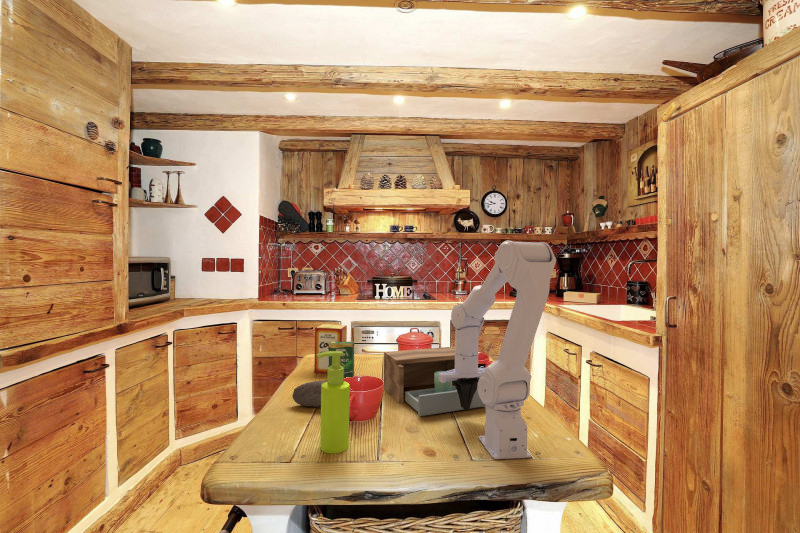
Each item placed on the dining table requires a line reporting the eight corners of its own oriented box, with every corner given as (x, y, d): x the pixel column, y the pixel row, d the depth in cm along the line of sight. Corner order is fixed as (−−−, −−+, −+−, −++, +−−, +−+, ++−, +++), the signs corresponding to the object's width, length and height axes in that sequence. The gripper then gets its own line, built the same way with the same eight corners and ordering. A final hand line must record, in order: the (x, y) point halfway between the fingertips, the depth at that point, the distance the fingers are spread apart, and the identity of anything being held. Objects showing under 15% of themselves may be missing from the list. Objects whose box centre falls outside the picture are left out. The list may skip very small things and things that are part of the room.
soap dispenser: (313, 443, 82) (314, 349, 82) (345, 438, 85) (346, 347, 84) (317, 456, 77) (319, 356, 76) (351, 451, 79) (353, 354, 79)
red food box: (346, 368, 138) (346, 324, 138) (341, 374, 132) (341, 327, 132) (320, 367, 140) (321, 323, 139) (314, 372, 133) (315, 326, 133)
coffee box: (327, 384, 121) (328, 342, 121) (329, 381, 124) (330, 340, 124) (352, 385, 121) (353, 343, 120) (354, 382, 124) (355, 341, 123)
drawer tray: (488, 405, 104) (489, 387, 104) (419, 416, 96) (419, 396, 96) (466, 392, 114) (467, 375, 114) (402, 401, 106) (402, 383, 106)
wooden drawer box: (469, 393, 115) (470, 356, 115) (399, 403, 106) (400, 362, 106) (447, 380, 127) (448, 347, 126) (383, 388, 118) (383, 352, 118)
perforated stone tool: (289, 409, 101) (289, 383, 100) (295, 402, 106) (295, 376, 106) (346, 411, 100) (347, 384, 100) (349, 403, 105) (350, 378, 105)
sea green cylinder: (451, 402, 103) (452, 376, 103) (433, 401, 104) (434, 375, 103) (451, 396, 108) (452, 371, 108) (434, 395, 108) (434, 370, 108)
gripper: (481, 347, 102) (480, 398, 102) (433, 351, 97) (432, 405, 97) (498, 354, 96) (496, 408, 96) (447, 358, 90) (445, 416, 90)
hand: (465, 407), depth 96 cm, fingers closed
